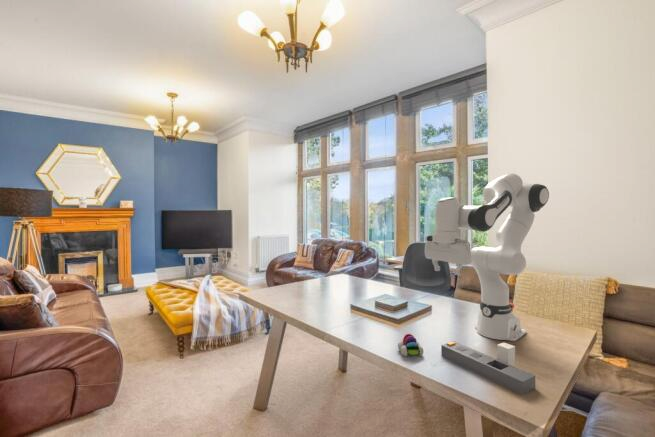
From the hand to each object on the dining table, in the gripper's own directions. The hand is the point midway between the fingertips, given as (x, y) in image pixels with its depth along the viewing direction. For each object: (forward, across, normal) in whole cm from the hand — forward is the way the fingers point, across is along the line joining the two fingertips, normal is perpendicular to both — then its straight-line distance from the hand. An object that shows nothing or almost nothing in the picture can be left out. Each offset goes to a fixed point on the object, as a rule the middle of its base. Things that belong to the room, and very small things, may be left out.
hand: (446, 272), depth 128 cm
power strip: (+31, -19, +4) cm, 37 cm away
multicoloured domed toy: (+32, +5, +14) cm, 35 cm away
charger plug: (+31, -22, -4) cm, 38 cm away
